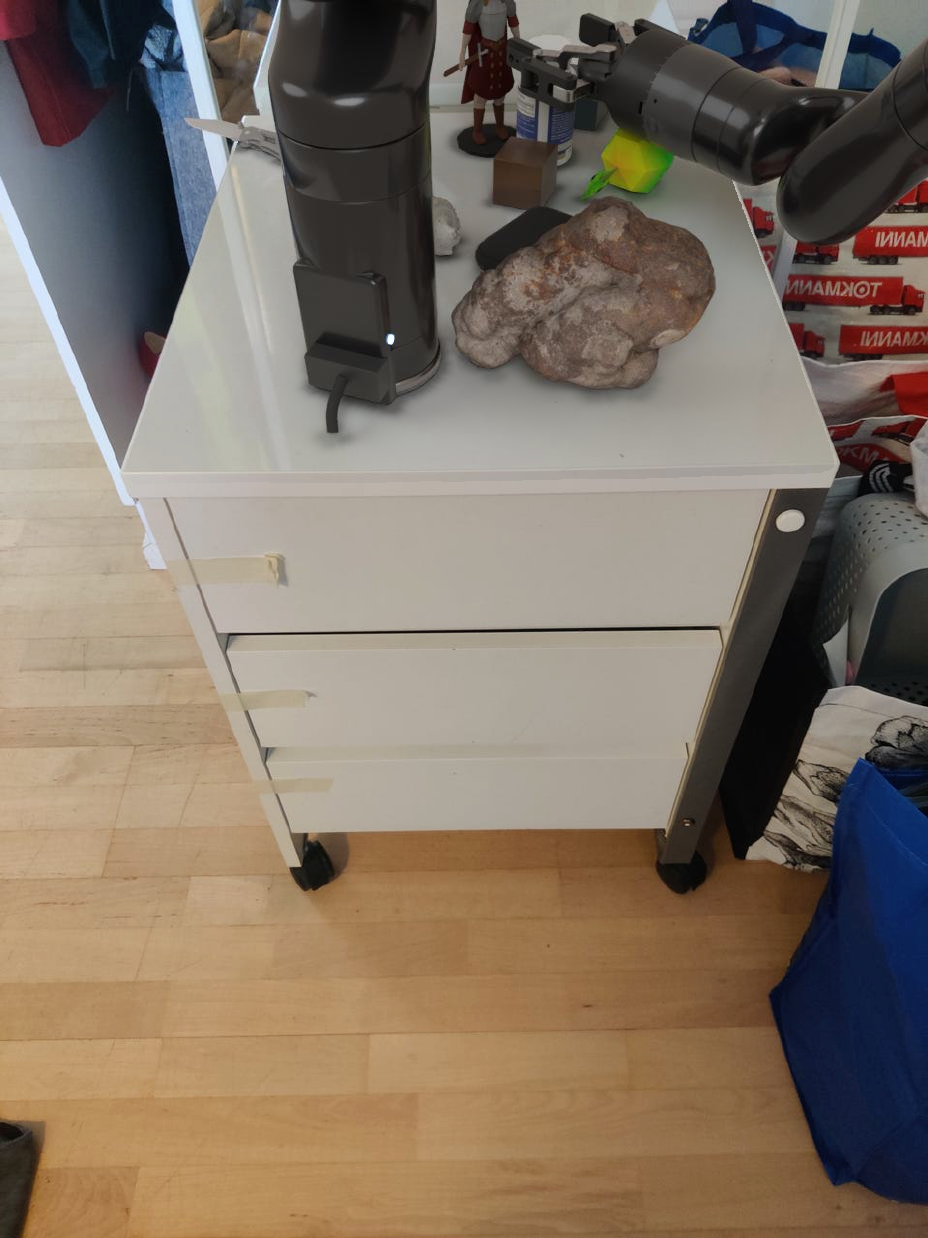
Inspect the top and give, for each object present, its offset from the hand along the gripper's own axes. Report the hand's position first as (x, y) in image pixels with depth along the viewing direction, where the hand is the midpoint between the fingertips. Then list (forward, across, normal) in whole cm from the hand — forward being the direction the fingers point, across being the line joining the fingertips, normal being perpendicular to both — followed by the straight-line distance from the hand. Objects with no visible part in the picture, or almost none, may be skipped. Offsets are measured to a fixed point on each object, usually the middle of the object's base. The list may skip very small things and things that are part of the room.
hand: (546, 37), depth 80 cm
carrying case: (-19, +14, +10) cm, 26 cm away
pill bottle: (-2, +1, +10) cm, 10 cm away
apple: (-12, 0, +10) cm, 15 cm away
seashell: (-3, +19, +10) cm, 22 cm away
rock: (-24, +17, +4) cm, 30 cm away
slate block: (+2, -7, +10) cm, 12 cm away
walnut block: (-6, +7, +10) cm, 13 cm away
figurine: (+4, +3, +10) cm, 11 cm away
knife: (+17, +23, +9) cm, 30 cm away
